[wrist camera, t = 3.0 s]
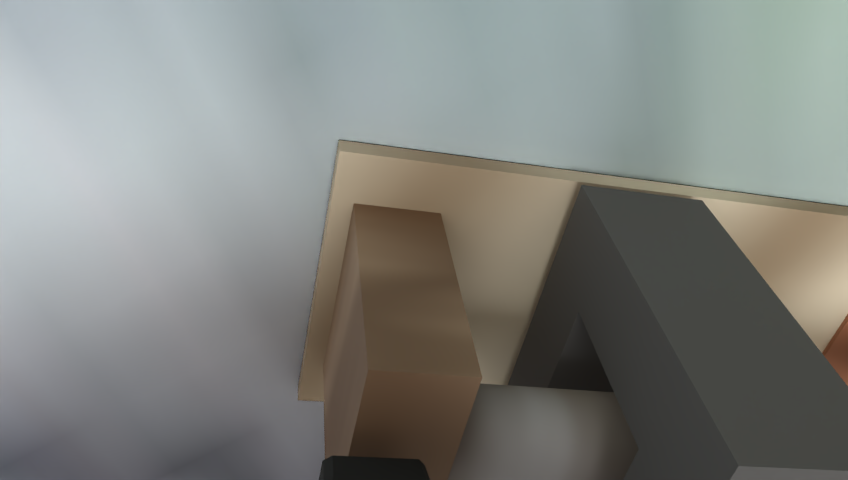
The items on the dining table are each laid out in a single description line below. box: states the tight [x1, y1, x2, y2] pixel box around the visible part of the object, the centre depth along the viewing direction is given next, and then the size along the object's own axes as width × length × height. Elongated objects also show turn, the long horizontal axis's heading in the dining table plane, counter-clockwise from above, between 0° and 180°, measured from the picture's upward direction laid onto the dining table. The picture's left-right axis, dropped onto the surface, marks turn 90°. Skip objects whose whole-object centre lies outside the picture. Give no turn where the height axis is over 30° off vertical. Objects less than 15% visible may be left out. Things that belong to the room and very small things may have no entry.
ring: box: [508, 185, 848, 480], centre depth 13 cm, size 2×6×6 cm, turn 168°
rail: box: [298, 140, 848, 480], centre depth 15 cm, size 17×6×5 cm, turn 78°
